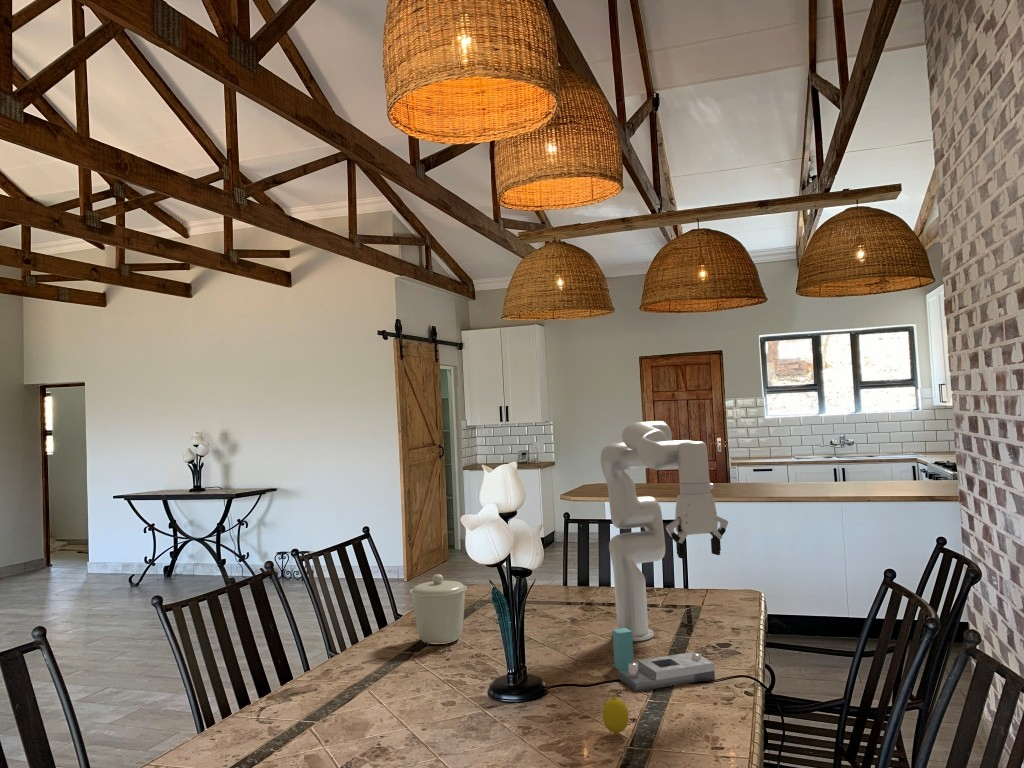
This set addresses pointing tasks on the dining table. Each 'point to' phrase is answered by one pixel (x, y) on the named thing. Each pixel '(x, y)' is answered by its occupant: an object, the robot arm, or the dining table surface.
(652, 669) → the grey slotted base
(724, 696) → the dining table surface
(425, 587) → the canister
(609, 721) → the lemon
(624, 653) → the pin
